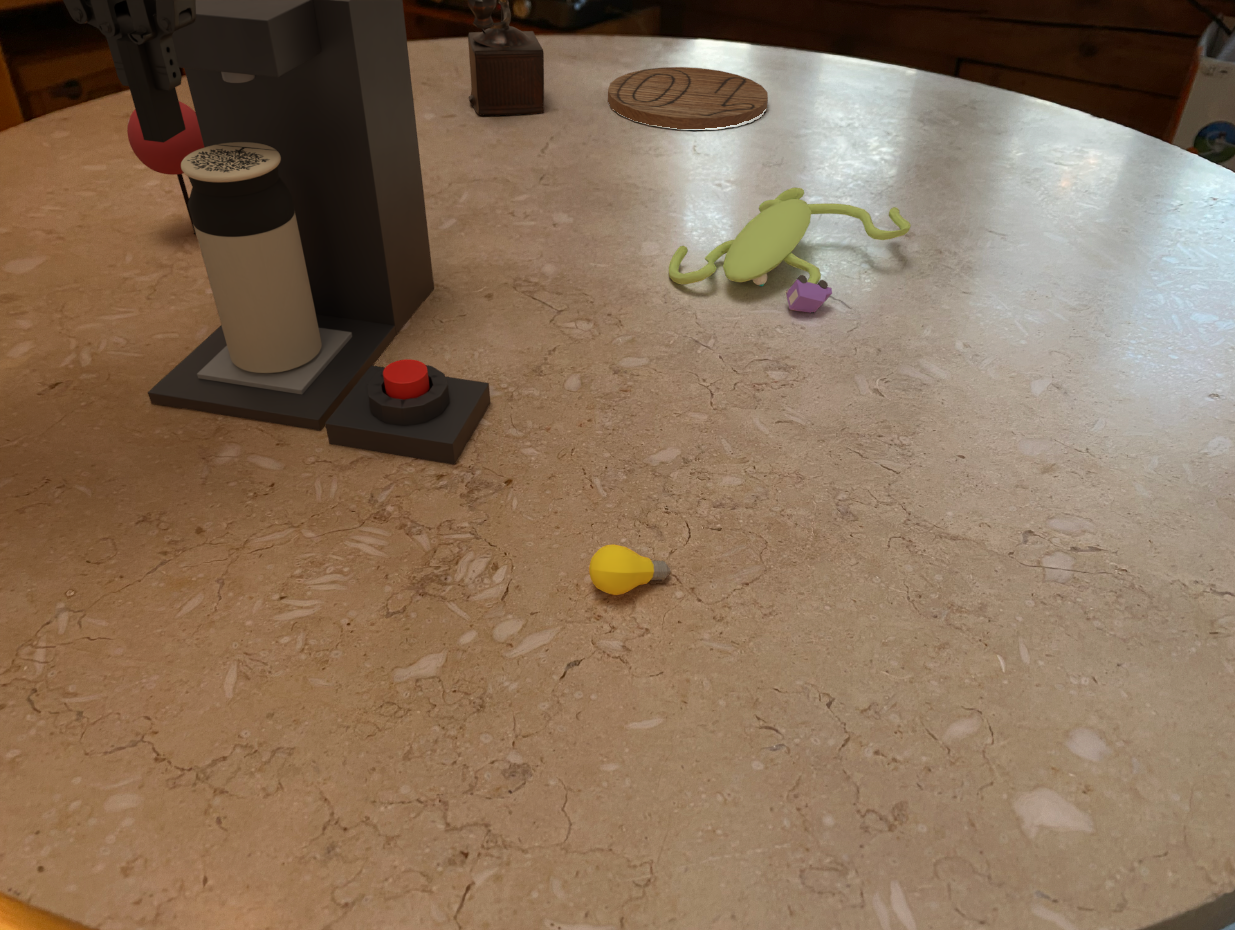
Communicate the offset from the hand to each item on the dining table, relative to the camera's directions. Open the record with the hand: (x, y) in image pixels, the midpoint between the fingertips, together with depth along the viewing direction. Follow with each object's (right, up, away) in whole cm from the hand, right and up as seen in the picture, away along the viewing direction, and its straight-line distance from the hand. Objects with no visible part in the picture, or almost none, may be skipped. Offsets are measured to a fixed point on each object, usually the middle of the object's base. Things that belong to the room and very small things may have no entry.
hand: (165, 134), depth 65 cm
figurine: (+51, 0, +40) cm, 65 cm away
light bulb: (+33, -32, +1) cm, 45 cm away
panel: (+14, -20, +15) cm, 28 cm away
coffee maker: (+2, -11, +25) cm, 27 cm away
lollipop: (-17, +3, +42) cm, 46 cm away
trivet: (+43, +34, +82) cm, 99 cm away
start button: (+14, -17, +13) cm, 25 cm away
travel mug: (+1, -13, +20) cm, 24 cm away
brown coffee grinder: (+15, +31, +78) cm, 85 cm away
